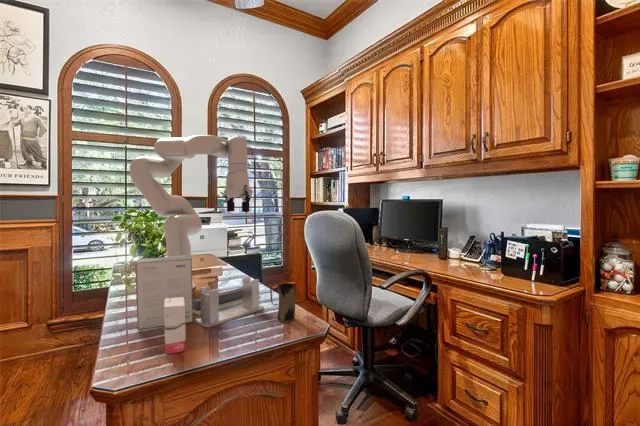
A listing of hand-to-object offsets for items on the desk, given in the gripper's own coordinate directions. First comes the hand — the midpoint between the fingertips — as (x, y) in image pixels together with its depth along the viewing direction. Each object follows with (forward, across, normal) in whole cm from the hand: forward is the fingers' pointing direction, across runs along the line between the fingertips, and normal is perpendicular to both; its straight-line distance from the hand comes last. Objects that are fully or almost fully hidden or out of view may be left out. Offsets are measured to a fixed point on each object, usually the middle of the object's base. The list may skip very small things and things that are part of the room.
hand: (238, 211), depth 131 cm
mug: (+34, +35, -9) cm, 49 cm away
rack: (+33, +19, -17) cm, 42 cm away
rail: (+33, +7, -11) cm, 35 cm away
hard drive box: (+34, +8, -33) cm, 48 cm away
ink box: (+34, +27, -40) cm, 59 cm away
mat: (+33, +7, -11) cm, 36 cm away
